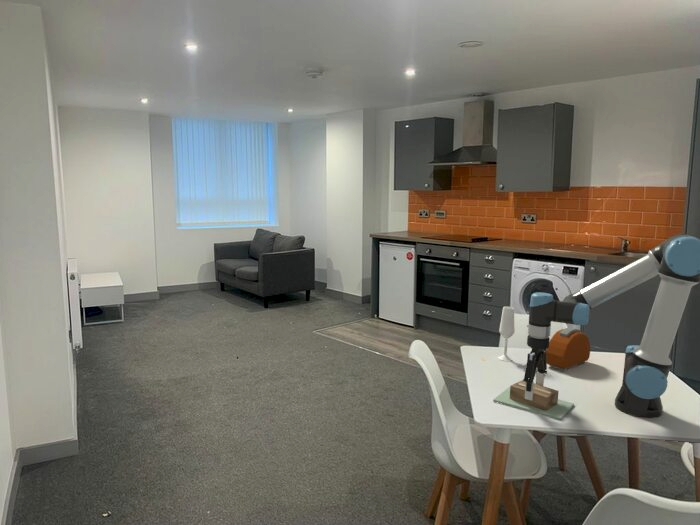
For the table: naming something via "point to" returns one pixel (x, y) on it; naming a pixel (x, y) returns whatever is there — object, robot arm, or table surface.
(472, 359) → the table surface
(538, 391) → the cardboard box
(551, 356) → the orange toaster
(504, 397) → the rubber mat
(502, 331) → the champagne flute
